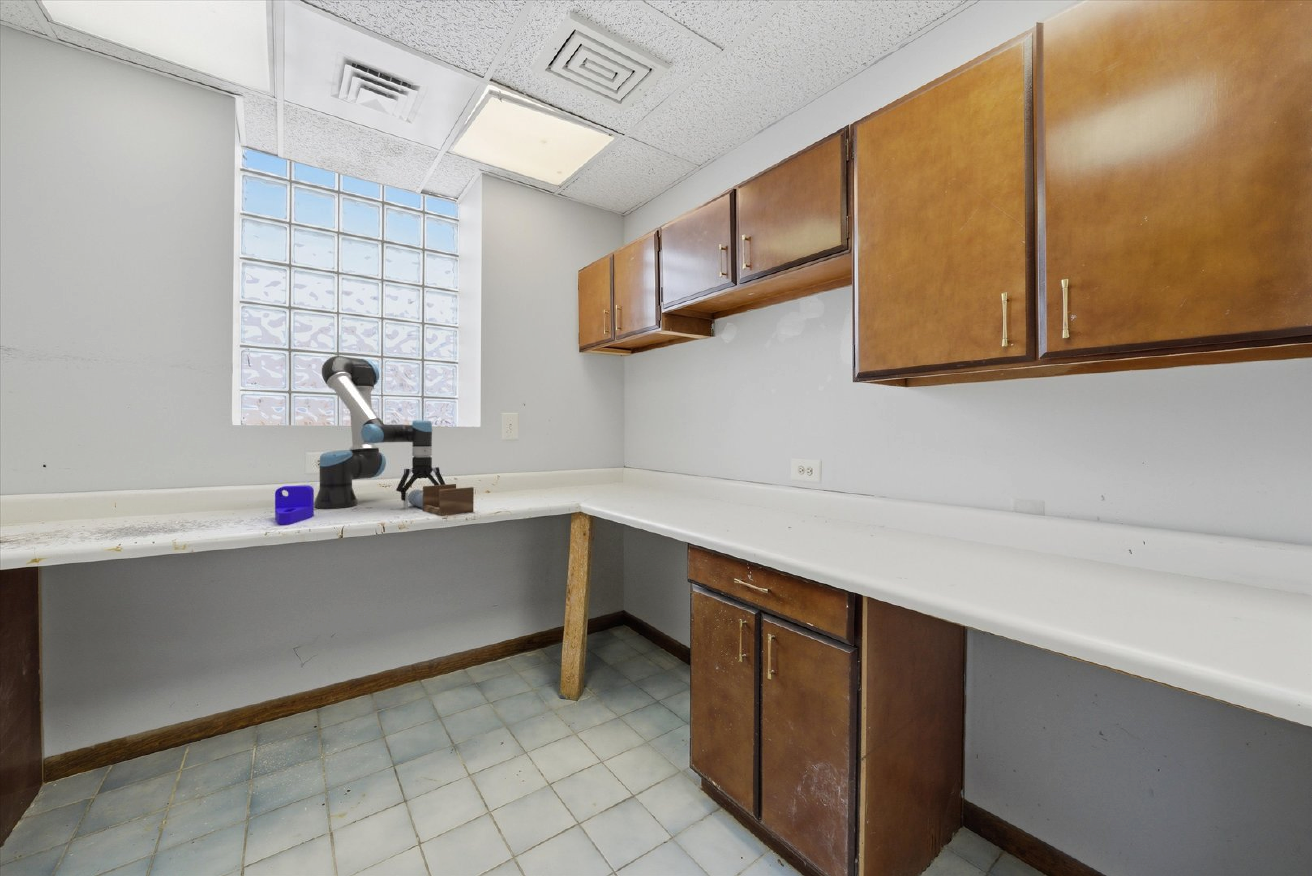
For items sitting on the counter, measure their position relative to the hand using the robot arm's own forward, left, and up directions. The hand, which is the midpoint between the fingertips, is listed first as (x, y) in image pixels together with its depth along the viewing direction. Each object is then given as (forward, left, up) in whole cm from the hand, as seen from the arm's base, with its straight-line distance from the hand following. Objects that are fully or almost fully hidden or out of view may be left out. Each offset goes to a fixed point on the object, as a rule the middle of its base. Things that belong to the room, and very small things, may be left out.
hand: (422, 506), depth 210 cm
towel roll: (0, 0, 0) cm, 0 cm away
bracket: (-1, -46, -1) cm, 46 cm away
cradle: (+18, +3, 0) cm, 18 cm away
